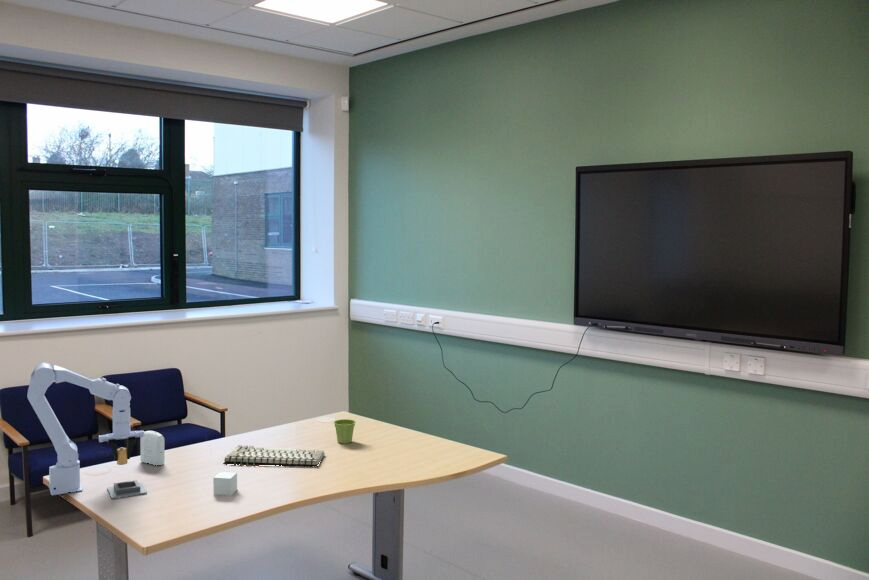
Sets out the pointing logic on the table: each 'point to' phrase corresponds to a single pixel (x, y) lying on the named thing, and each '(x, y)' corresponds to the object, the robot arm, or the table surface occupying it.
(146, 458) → the white wifi router
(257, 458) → the mechanical keyboard
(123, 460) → the tan capped bottle
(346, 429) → the plant pot
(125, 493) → the housing
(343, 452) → the table surface
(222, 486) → the white cube
